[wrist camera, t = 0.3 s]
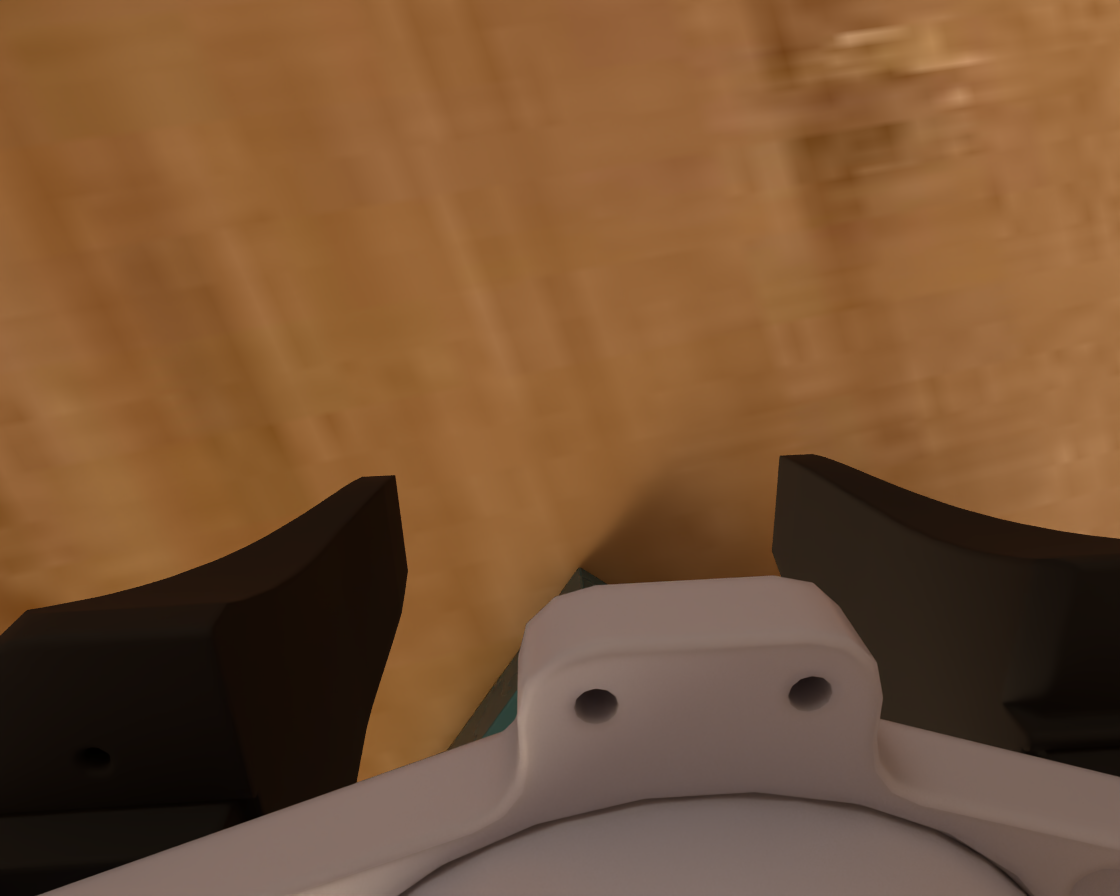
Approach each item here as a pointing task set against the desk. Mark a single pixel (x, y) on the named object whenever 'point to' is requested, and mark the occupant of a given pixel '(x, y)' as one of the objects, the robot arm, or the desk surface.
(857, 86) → the desk surface
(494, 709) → the panel
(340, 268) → the desk surface
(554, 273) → the desk surface
